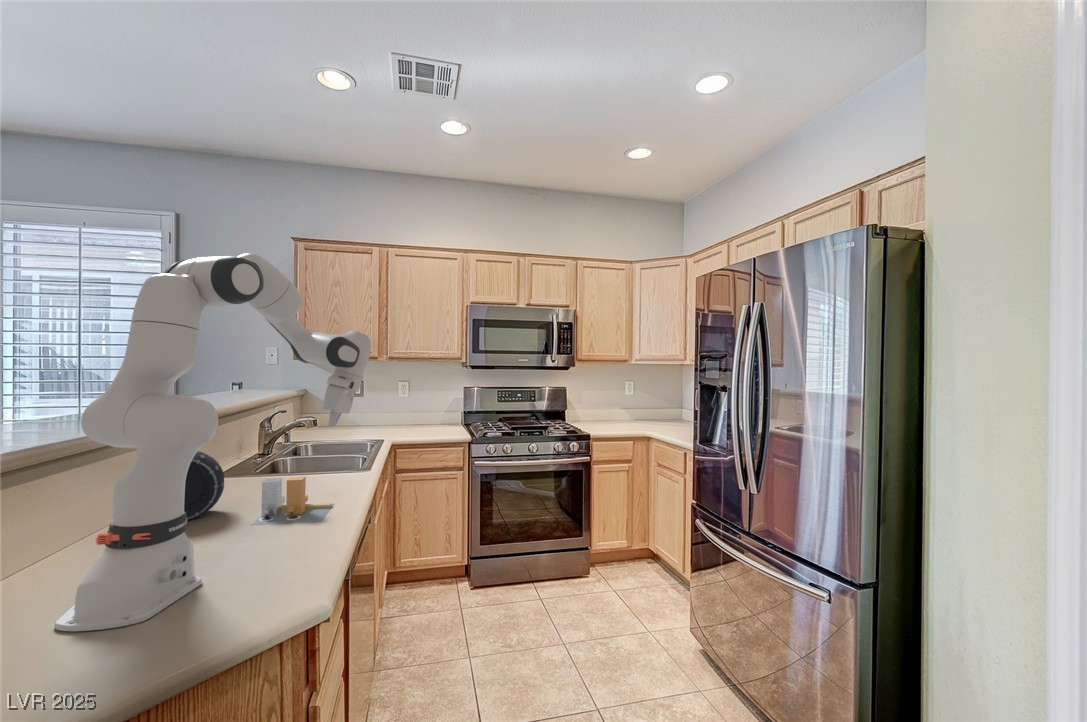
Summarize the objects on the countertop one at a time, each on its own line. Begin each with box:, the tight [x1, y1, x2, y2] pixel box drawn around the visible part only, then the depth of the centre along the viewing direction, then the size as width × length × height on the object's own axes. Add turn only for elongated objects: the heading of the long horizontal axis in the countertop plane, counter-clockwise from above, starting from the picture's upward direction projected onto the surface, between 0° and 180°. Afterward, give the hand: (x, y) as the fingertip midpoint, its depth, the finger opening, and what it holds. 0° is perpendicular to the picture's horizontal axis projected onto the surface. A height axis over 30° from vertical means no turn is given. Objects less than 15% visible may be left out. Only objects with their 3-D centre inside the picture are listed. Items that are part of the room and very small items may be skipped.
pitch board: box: [250, 502, 335, 526], centre depth 139 cm, size 17×18×2 cm
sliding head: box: [285, 476, 309, 516], centre depth 140 cm, size 12×4×10 cm, turn 12°
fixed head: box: [260, 477, 286, 518], centre depth 139 cm, size 12×4×10 cm, turn 12°
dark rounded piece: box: [184, 450, 225, 522], centre depth 135 cm, size 11×20×20 cm, turn 119°
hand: (331, 426), depth 145 cm, fingers closed
